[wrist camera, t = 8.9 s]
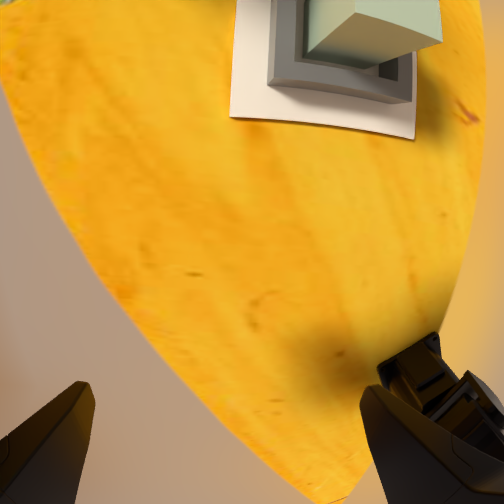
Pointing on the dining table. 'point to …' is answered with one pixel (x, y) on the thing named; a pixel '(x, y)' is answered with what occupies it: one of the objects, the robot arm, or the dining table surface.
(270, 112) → the socket
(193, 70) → the dining table surface
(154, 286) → the dining table surface
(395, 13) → the sage block
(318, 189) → the dining table surface
